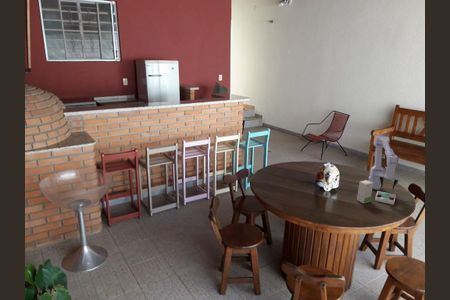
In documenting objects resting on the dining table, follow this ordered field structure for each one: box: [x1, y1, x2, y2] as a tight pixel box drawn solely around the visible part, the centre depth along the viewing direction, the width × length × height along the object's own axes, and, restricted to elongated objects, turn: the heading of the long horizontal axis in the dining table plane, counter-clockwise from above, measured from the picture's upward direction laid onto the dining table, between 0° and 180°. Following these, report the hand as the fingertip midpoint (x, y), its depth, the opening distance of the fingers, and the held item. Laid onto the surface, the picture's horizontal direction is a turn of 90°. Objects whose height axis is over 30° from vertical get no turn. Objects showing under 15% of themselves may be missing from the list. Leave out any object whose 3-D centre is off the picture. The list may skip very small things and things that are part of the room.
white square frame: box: [374, 190, 396, 206], centre depth 242 cm, size 13×13×3 cm
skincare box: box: [356, 179, 373, 204], centre depth 237 cm, size 8×7×16 cm
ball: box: [381, 192, 390, 199], centre depth 241 cm, size 5×5×5 cm
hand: (387, 187), depth 239 cm, fingers open, 7 cm apart
